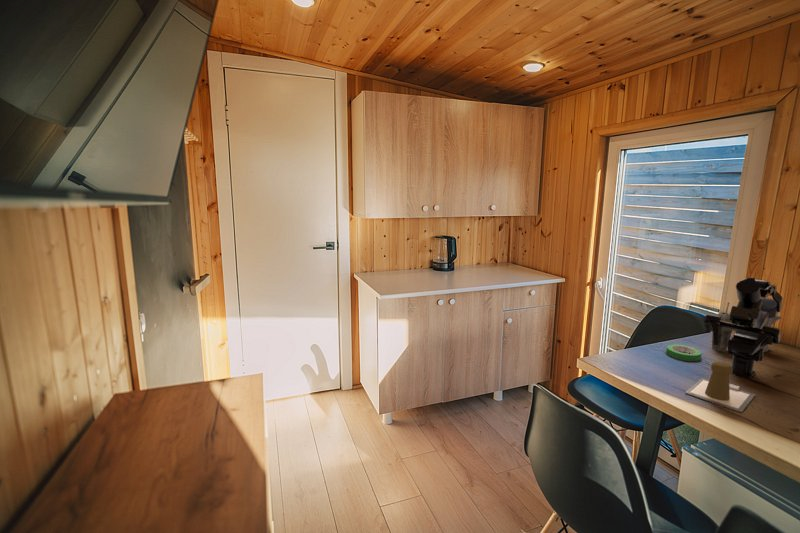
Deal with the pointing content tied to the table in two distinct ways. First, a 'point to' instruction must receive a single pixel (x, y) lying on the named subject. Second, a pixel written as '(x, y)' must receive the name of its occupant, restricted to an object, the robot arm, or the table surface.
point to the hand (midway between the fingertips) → (732, 349)
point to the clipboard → (736, 401)
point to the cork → (719, 381)
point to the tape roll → (673, 351)
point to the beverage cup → (723, 333)
